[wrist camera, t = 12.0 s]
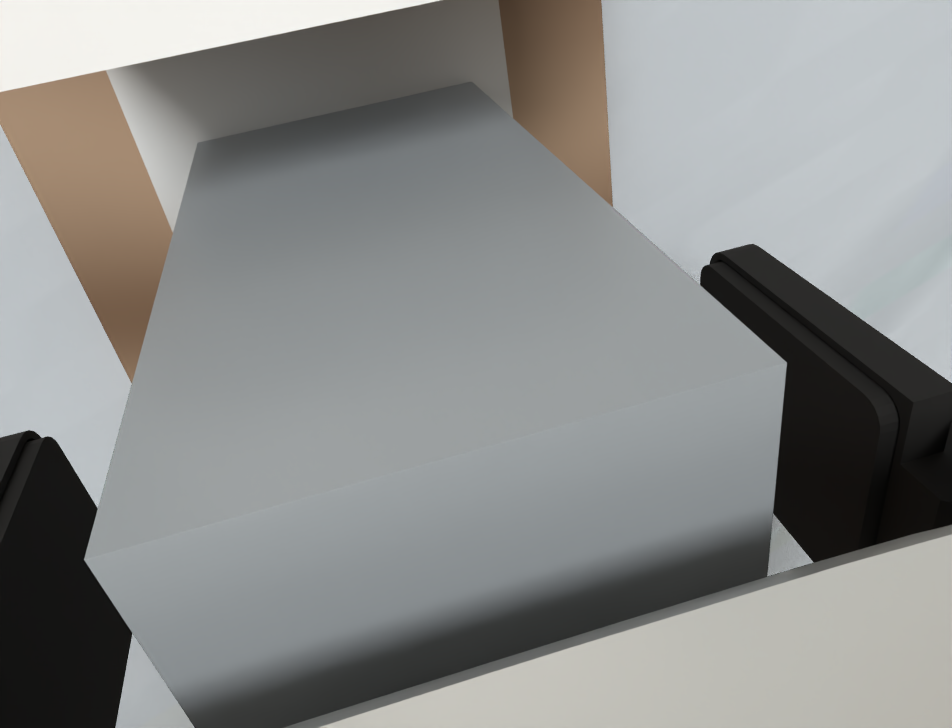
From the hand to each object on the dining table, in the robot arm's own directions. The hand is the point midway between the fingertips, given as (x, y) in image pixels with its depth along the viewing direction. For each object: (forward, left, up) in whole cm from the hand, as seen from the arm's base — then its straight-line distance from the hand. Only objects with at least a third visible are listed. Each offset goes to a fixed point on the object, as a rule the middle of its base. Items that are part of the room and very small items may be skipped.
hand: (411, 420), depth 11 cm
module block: (0, 0, -4) cm, 4 cm away
